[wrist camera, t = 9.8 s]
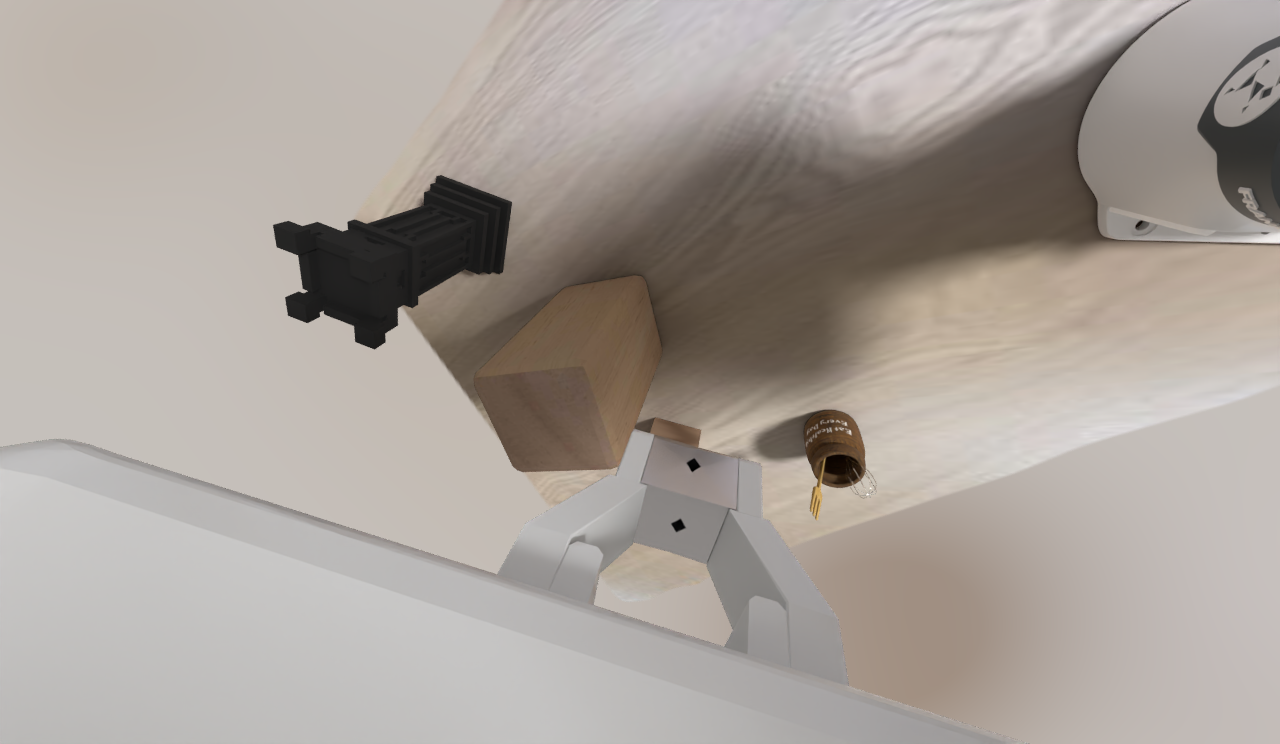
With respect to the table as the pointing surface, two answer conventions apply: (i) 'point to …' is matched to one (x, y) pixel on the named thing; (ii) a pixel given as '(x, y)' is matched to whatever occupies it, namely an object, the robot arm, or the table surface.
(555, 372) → the block
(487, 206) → the chess piece
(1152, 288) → the table surface
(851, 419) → the utensil holder
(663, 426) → the walnut numbered cube
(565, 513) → the robot arm
